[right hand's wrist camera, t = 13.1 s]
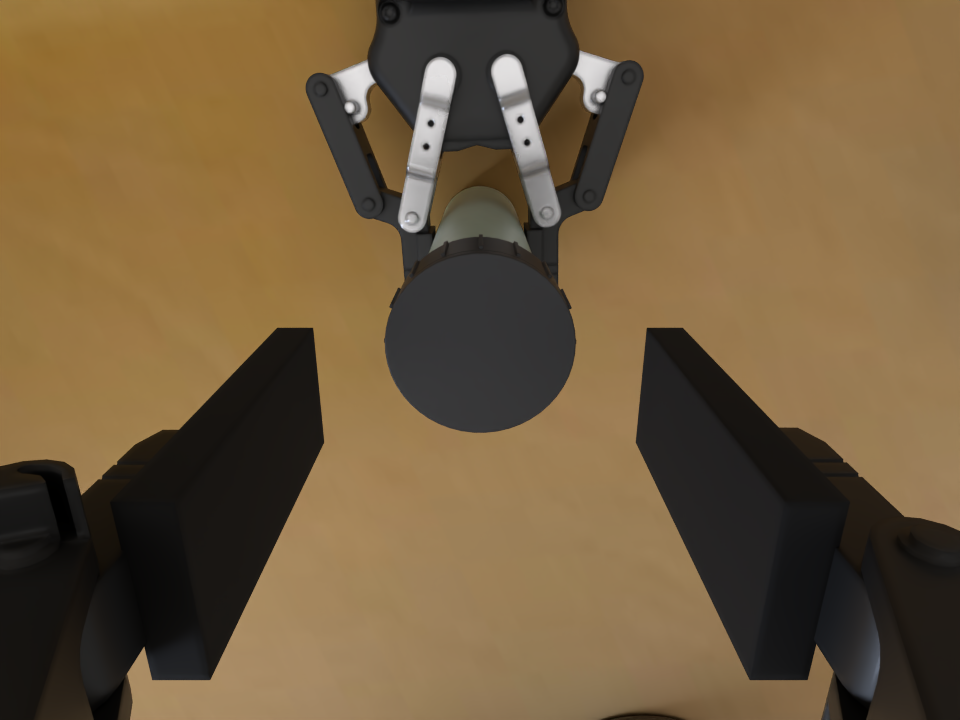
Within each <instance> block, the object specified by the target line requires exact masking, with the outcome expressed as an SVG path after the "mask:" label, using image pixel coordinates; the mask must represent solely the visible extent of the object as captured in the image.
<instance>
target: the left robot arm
mask: <svg viewBox="0 0 960 720" xmlns="http://www.w3.org/2000/svg"><path fill="white" fill-rule="evenodd" d="M376 12H377V24H376V30H375V34H374V38H373V40H372V43H371V45H370V47H369V51H368V58H367V60H365V61H363V62H360V63H358V64H356V65H353V66H351V67H348V68H346V69H343V70H341V71H338V72H336V73H334V74H331V75H327V74H324V73H315V74H313V75H312V76H310V77H309V79H308V80H307V83H306V93H307V96H308V98H309V100H310V103H311V105H312V108H313V110H314V112H315V115H316V117H317V119H318V122H319V124H320V126H321V129H322V131H323V134H324V136H325V138H326V141H327V143H328V145H329V148H330V150H331V152H332V155H333V157H334V159H335V162H336V164H337V167H338V169H339V171H340V174H341V176H342V178H343V181H344V183H345V185H346V188H347V190H348V193H349V195H350V197H351V200H352V202H353V204H354V207H355V209H356V211H357V213H358V214H359V215H360V216H362V217H364V218H366V219H377V220H380V221H383V222H386V223H389V224H391V225H393V226H394V227H395V228H396V229H397V230H398V231H399V233H400V236H401V242H402V254H403V266H404V278H405V280H406V278H407V276H408V275H409V273H410V272H411V270H412V268H413V266H414V263H415V262H416V261H417V260H419V261H420V260H421V259H422V258H424V257H425V256H426V255H428V254H429V251H430V249H431V246H432V243H433V241H434V238H435V235H436V231H435V226H431V225H430V212H431V208H432V203H433V198H434V194H435V189H436V185H437V180H438V176H439V172H440V168H441V163H442V159H443V154H444V152H447V151H459V150H463V149H466V148H469V147H472V146H475V145H479V146H484V147H488V148H492V149H511V152H512V155H513V159H514V162H515V165H516V168H517V171H518V174H519V178H520V181H521V184H522V188H523V191H524V194H525V198H526V201H527V204H528V222H527V223H524V234H525V237H526V240H527V242H528V245H529V248H530V250H531V253H532V254H533V255H534V256H536V257H537V258H538V259H539V260H540V261H541V262H542V261H543V260H544V261H545V262H546V263H547V266H548V268H549V270H550V272H551V274H552V275H553V277H554V279H555V281H556V283H557V284H558V231H559V228H560V225H561V224H562V222H563V221H564V220H565V219H566V218H568V217H570V216H572V215H575V214H577V213H580V212H582V211H584V210H585V211H592V210H595V209H596V208H598V207H599V206H600V205H601V203H602V201H603V198H604V195H605V192H606V189H607V186H608V183H609V180H610V177H611V174H612V171H613V168H614V165H615V162H616V159H617V156H618V153H619V150H620V147H621V144H622V141H623V139H624V136H625V133H626V130H627V127H628V124H629V121H630V118H631V115H632V112H633V109H634V106H635V103H636V100H637V97H638V94H639V91H640V88H641V85H642V82H643V77H644V74H643V70H642V68H641V66H640V65H639V64H638V63H637V62H635V61H631V60H628V61H623V62H615V61H612V60H609V59H606V58H602V57H599V56H596V55H593V54H589V53H586V52H583V51H580V50H579V44H578V41H577V38H576V36H575V34H574V33H573V31H572V28H571V26H570V23H569V19H568V14H567V0H376ZM571 76H572V77H574V78H575V79H576V80H577V81H578V82H579V84H580V88H581V94H580V103H581V106H582V108H583V109H584V110H585V111H587V112H589V113H591V116H590V119H589V122H588V126H587V129H586V132H585V135H584V138H583V141H582V145H581V148H580V151H579V154H578V157H577V160H576V164H575V167H574V170H573V173H572V176H571V179H570V181H569V182H567V183H564V184H562V185H560V186H557V187H554V184H553V180H552V177H551V173H550V169H549V163H548V159H547V155H546V152H545V148H544V145H543V141H542V138H541V134H540V130H539V125H540V123H541V122H542V120H543V119H544V117H545V116H546V114H547V113H548V111H549V110H550V108H551V107H552V105H553V104H554V102H555V101H556V99H557V98H558V96H559V95H560V93H561V91H562V90H563V88H564V87H565V85H566V84H567V82H568V81H569V79H570V78H571ZM376 85H378V86H379V87H380V88H381V90H382V91H383V92H384V94H385V95H386V96H387V98H388V99H389V100H390V101H391V103H392V104H393V105H394V107H395V108H396V109H397V110H398V112H399V113H400V114H401V116H402V117H403V118H404V119H405V121H406V122H407V123H408V125H409V126H410V127H411V128H412V130H413V131H414V133H413V138H412V143H411V148H410V153H409V158H408V163H407V169H406V179H405V184H404V189H403V194H402V193H399V192H396V191H393V190H390V189H388V188H387V186H386V183H385V181H384V178H383V176H382V173H381V171H380V169H379V166H378V164H377V161H376V159H375V156H374V154H373V151H372V149H371V146H370V144H369V141H368V139H367V136H366V134H365V131H364V129H363V126H362V124H361V123H362V122H364V121H366V120H367V119H368V118H369V116H370V114H371V104H370V93H371V91H372V89H373V88H374V87H375V86H376Z"/></svg>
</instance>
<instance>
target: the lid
mask: <svg viewBox="0 0 960 720" xmlns="http://www.w3.org/2000/svg"><path fill="white" fill-rule="evenodd" d="M390 308H392V310H391V313H390V315H389V318H388V322H387V326H386V333H385V339H384V343H385V353H386V358H387V364H388V367H389V370H390V373H391V376H392V378H393V380H394V382H395V384H396V386H397V387H398V389H399V390H400V392H401V393H402V395H403V396H404V397H405V398H406V399H407V401H408V402H409V403H410V404H411V405H412V406H413V407H414V408H416V409H417V410H418V411H419V412H420V413H422V414H423V415H425V416H426V417H427V418H429V419H431V420H433V421H435V422H436V423H438V424H441V425H443V426H446V427H449V428H452V429H456V430H460V431H466V432H474V433H486V432H495V431H501V430H505V429H509V428H512V427H515V426H517V425H520V424H522V423H524V422H526V421H528V420H530V419H532V418H533V417H535V416H536V415H538V414H539V413H540V412H542V411H543V410H544V409H545V408H546V407H547V406H549V405H550V403H551V402H552V401H553V400H554V399H555V398H556V397H557V395H558V394H559V393H560V391H561V390H562V388H563V387H564V385H565V383H566V381H567V379H568V377H569V374H570V371H571V369H572V366H573V361H574V356H575V346H576V339H575V329H574V324H573V319H572V316H571V314H570V311H569V309H571V305H570V303H569V301H568V299H567V297H566V295H565V293H564V291H563V289H561V290H560V289H559V286H558V284H557V283H556V281H555V279H554V277H553V275H552V274H551V272H550V270H549V268H548V266H547V263H546V262H545V261H544V260H543V261H542V262H541V261H540V260H539V259H538V258H537V257H536V256H534V255H533V254H532V253H531V252H529V251H527V250H526V249H524V248H522V247H521V246H519V245H518V242H516V241H514V243H512V242H509V241H506V240H502V239H498V238H491V237H483V234H479V237H469V238H463V239H459V240H455V241H452V242H449V243H448V241H445V242H444V243H443V245H442V246H440V247H438V248H437V249H435V250H433V251H431V252H430V253H429V254H428V255H426V256H425V257H424V258H422V259H421V260H420V261H419V260H417V261H416V262H415V263H414V266H413V268H412V270H411V272H410V273H409V275H408V276H407V278H406V280H405V282H404V284H403V285H402V288H401V289H400V288H398V290H397V292H396V294H395V296H394V298H393V300H392V302H391V304H390Z"/></svg>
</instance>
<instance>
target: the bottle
mask: <svg viewBox="0 0 960 720" xmlns="http://www.w3.org/2000/svg"><path fill="white" fill-rule="evenodd" d="M479 234H483V237H491V238H498V239H502V240H506V241H509V242H512V243H514V241H516V242H518V245H519V246H521V247H522V248H524V249H526V250H527V251H529V252H531V250H530V248H529V245H528V242H527V240H526V237H525V234H524V232H523V229H522V227H521V224H520V221H519V219H518V216H517V213H516V211H515V208H514V206H513V204H512V203H511V202H510V200H509V199H508V198H507V197H506V196H505V195H504V194H503V193H501V192H499V191H498V190H496V189H493V188H490V187H485V186H475V187H470V188H467V189H465V190H463V191H461V192H459V193H458V194H457V195H455V196H454V197H453V198H452V199H451V201H450V202H449V203H448V205H447V207H446V209H445V212H444V214H443V217H442V220H441V222H440V225H439V227H438V230H437V233H436V235H435V238H434V241H433V243H432V246H431V249H430V251H429V253H430V252H431V251H433V250H435V249H437V248H438V247H440V246H442V245H443V243H444V242H445V241H448V243H449V242H452V241H455V240H459V239H463V238H469V237H479Z"/></svg>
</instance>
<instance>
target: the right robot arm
mask: <svg viewBox="0 0 960 720" xmlns="http://www.w3.org/2000/svg"><path fill="white" fill-rule="evenodd" d="M323 444H324V435H323V425H322V415H321V405H320V394H319V384H318V374H317V363H316V353H315V343H314V332H313V328H277V329H276V330H275V331H274V332H273V333H272V334H271V335H270V336H269V337H268V338H267V339H266V340H265V341H264V342H263V343H262V344H261V345H260V346H259V347H258V348H257V350H256V351H255V352H254V353H253V354H252V355H251V356H250V357H249V358H248V359H247V360H246V361H245V362H244V363H243V364H242V365H241V366H240V367H239V368H238V369H237V370H236V371H235V372H234V373H233V374H232V375H231V377H230V378H229V379H228V380H227V381H226V382H225V383H224V384H223V385H222V386H221V387H220V388H219V389H218V390H217V391H216V392H215V393H214V394H213V395H212V396H211V397H210V398H209V399H208V400H207V401H206V402H205V404H204V405H203V406H202V407H201V408H200V409H199V410H198V411H197V412H196V413H195V414H194V415H193V416H192V417H191V418H190V419H189V420H188V421H187V422H186V423H185V424H184V425H183V426H182V427H181V428H180V429H179V430H162V431H160V432H158V433H156V434H154V435H152V436H150V437H149V438H147V439H145V440H143V441H141V442H139V443H137V444H135V445H134V446H133V447H132V448H131V449H130V450H129V451H128V452H127V453H126V454H125V455H124V456H123V457H122V458H121V459H119V460H118V461H117V465H113V466H112V467H111V468H110V469H109V470H108V471H107V472H106V473H105V474H104V475H103V476H102V479H98V480H97V481H96V482H95V483H94V484H93V485H92V486H91V487H90V488H89V489H88V490H87V491H86V492H85V493H84V494H83V495H82V496H81V493H80V489H79V485H78V481H77V477H76V474H75V470H74V468H73V467H71V466H70V465H68V464H67V463H65V462H61V461H54V460H34V461H22V462H18V463H13V464H9V465H4V466H0V720H130V716H131V709H132V694H131V688H130V684H129V680H128V676H127V673H128V671H129V669H130V668H131V666H132V665H133V663H134V662H135V660H136V658H137V657H138V655H139V654H140V652H141V651H142V649H143V647H145V651H146V655H147V659H148V664H149V668H150V672H151V676H152V680H210V679H211V677H212V675H213V673H214V671H215V669H216V667H217V665H218V663H219V661H220V659H221V656H222V654H223V652H224V650H225V648H226V646H227V644H228V642H229V640H230V638H231V636H232V634H233V631H234V629H235V627H236V625H237V623H238V621H239V619H240V617H241V615H242V613H243V611H244V608H245V606H246V604H247V602H248V600H249V598H250V596H251V594H252V592H253V590H254V588H255V586H256V583H257V581H258V579H259V577H260V575H261V573H262V571H263V569H264V567H265V565H266V563H267V561H268V558H269V556H270V554H271V552H272V550H273V548H274V546H275V544H276V542H277V540H278V538H279V535H280V533H281V531H282V529H283V527H284V525H285V523H286V521H287V519H288V517H289V515H290V513H291V510H292V508H293V506H294V504H295V502H296V500H297V498H298V496H299V494H300V492H301V490H302V488H303V485H304V483H305V481H306V479H307V477H308V475H309V473H310V471H311V469H312V467H313V465H314V463H315V460H316V458H317V456H318V454H319V452H320V450H321V448H322V446H323ZM636 444H637V446H638V448H639V450H640V452H641V454H642V456H643V458H644V460H645V463H646V465H647V467H648V469H649V471H650V473H651V475H652V477H653V479H654V481H655V483H656V485H657V488H658V490H659V492H660V494H661V496H662V498H663V500H664V502H665V504H666V506H667V508H668V510H669V513H670V515H671V517H672V519H673V521H674V523H675V525H676V527H677V529H678V531H679V533H680V535H681V538H682V540H683V542H684V544H685V546H686V548H687V550H688V552H689V554H690V556H691V558H692V561H693V563H694V565H695V567H696V569H697V571H698V573H699V575H700V577H701V579H702V581H703V583H704V586H705V588H706V590H707V592H708V594H709V596H710V598H711V600H712V602H713V604H714V606H715V608H716V611H717V613H718V615H719V617H720V619H721V621H722V623H723V625H724V627H725V629H726V631H727V634H728V636H729V638H730V640H731V642H732V644H733V646H734V648H735V650H736V652H737V654H738V656H739V659H740V661H741V663H742V665H743V667H744V669H745V671H746V673H747V675H748V677H749V679H750V680H808V676H809V672H810V668H811V664H812V659H813V655H814V651H815V647H816V644H817V646H818V647H819V649H820V650H821V652H822V653H823V655H824V657H825V658H826V660H827V661H828V663H829V664H830V666H831V667H832V669H833V671H834V672H833V676H832V680H831V684H830V688H829V692H828V696H827V699H826V703H825V707H824V711H823V715H822V719H821V720H960V531H959V530H956V529H954V528H952V527H949V526H947V525H944V524H940V523H936V522H933V521H929V520H925V519H921V518H911V517H904V516H903V515H902V514H901V513H900V512H899V511H898V510H897V509H896V508H895V507H893V506H892V505H891V504H890V503H889V502H888V501H887V500H886V499H885V498H884V497H883V496H882V495H881V494H880V493H879V492H878V491H876V490H875V489H874V488H873V487H872V486H871V485H870V484H869V483H868V482H867V481H866V480H865V479H864V478H863V477H858V473H857V472H856V471H855V470H854V469H853V468H852V467H851V466H850V465H849V464H848V463H843V459H842V458H841V457H840V456H839V455H838V454H837V453H836V452H835V451H834V450H833V449H832V448H831V447H830V446H829V445H828V444H827V443H825V442H824V441H822V440H820V439H818V438H816V437H814V436H812V435H810V434H809V433H807V432H805V431H803V430H801V429H799V428H779V427H778V426H777V425H776V424H775V423H774V422H773V421H772V420H771V419H770V418H769V417H768V416H767V415H766V414H765V413H764V412H763V411H762V410H761V409H760V408H759V407H758V406H757V405H756V404H755V402H754V401H753V400H752V399H751V398H750V397H749V396H748V395H747V394H746V393H745V392H744V391H743V390H742V389H741V388H740V387H739V386H738V385H737V384H736V383H735V382H734V381H733V380H732V379H731V378H730V377H729V375H728V374H727V373H726V372H725V371H724V370H723V369H722V368H721V367H720V366H719V365H718V364H717V363H716V362H715V361H714V360H713V359H712V358H711V357H710V356H709V355H708V354H707V353H706V352H705V351H704V350H703V348H702V347H701V346H700V345H699V344H698V343H697V342H696V341H695V340H694V339H693V338H692V337H691V336H690V335H689V334H688V333H687V332H686V331H685V330H684V329H683V328H647V332H646V343H645V353H644V363H643V374H642V384H641V394H640V405H639V415H638V425H637V435H636ZM611 720H676V719H672V718H667V717H660V716H627V717H621V718H615V719H611Z"/></svg>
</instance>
